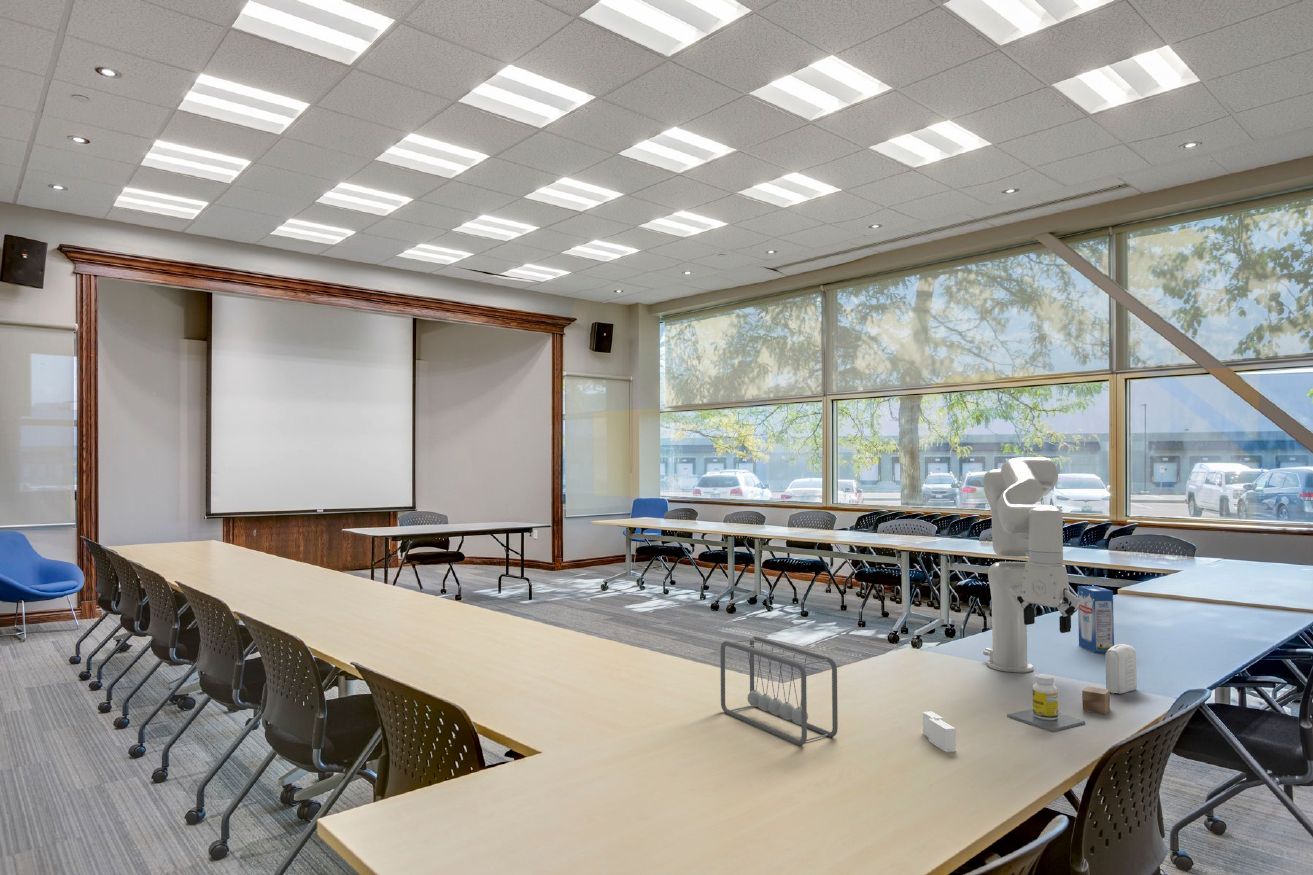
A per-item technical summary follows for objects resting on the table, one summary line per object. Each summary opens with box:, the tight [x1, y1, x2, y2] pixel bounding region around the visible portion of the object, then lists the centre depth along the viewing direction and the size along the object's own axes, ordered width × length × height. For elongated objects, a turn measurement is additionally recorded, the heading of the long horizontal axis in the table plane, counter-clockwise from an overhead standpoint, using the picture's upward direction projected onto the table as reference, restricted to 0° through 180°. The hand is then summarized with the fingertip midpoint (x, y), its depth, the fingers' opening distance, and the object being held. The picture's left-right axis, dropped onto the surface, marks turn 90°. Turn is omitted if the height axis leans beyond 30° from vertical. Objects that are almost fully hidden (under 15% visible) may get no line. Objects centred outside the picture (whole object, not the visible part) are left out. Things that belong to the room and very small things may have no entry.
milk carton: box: [1077, 585, 1115, 654], centre depth 256 cm, size 10×6×20 cm, turn 179°
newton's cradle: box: [720, 635, 839, 746], centre depth 183 cm, size 30×10×18 cm, turn 33°
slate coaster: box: [1006, 708, 1086, 733], centre depth 185 cm, size 12×12×1 cm
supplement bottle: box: [1032, 673, 1059, 720], centre depth 186 cm, size 5×5×10 cm
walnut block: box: [1081, 685, 1111, 716], centre depth 193 cm, size 5×5×5 cm
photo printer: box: [1105, 643, 1138, 695], centre depth 210 cm, size 10×4×12 cm, turn 123°
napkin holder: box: [922, 710, 957, 753], centre depth 171 cm, size 15×11×6 cm
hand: (1046, 628), depth 190 cm, fingers open, 9 cm apart
